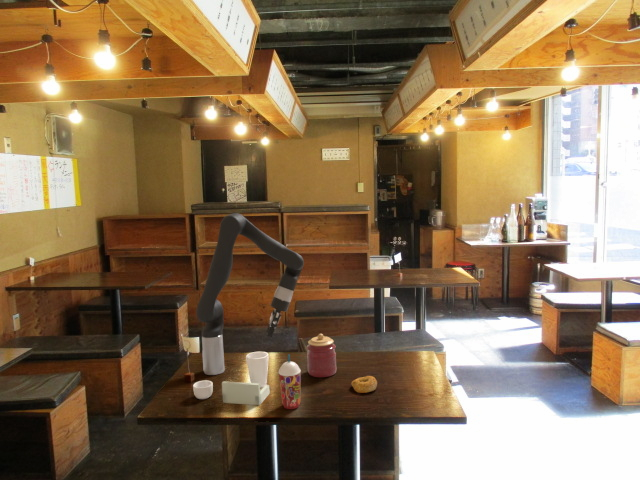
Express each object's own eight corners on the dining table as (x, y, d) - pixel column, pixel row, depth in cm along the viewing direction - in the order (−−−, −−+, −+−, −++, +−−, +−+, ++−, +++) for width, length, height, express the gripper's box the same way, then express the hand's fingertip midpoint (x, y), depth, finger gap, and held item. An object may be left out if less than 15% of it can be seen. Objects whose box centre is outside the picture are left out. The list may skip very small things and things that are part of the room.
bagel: (361, 381, 205) (361, 370, 204) (382, 388, 197) (382, 377, 197) (345, 389, 198) (345, 378, 198) (366, 396, 190) (366, 385, 190)
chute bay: (234, 391, 200) (233, 372, 200) (269, 393, 197) (268, 374, 196) (223, 402, 190) (221, 382, 189) (259, 405, 186) (258, 385, 185)
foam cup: (273, 382, 209) (272, 352, 207) (264, 390, 200) (262, 359, 199) (253, 380, 212) (252, 350, 210) (243, 388, 203) (241, 358, 202)
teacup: (212, 400, 193) (211, 387, 192) (192, 401, 192) (191, 388, 191) (215, 390, 203) (214, 377, 202) (196, 391, 202) (195, 379, 201)
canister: (337, 377, 210) (335, 337, 209) (307, 378, 211) (305, 338, 209) (336, 366, 223) (334, 329, 222) (308, 367, 224) (306, 330, 222)
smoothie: (299, 411, 179) (296, 358, 177) (277, 410, 181) (274, 358, 179) (304, 401, 187) (302, 351, 185) (283, 400, 189) (281, 350, 187)
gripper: (273, 294, 214) (260, 329, 212) (274, 296, 200) (260, 334, 198) (289, 300, 215) (276, 335, 213) (291, 302, 201) (278, 340, 199)
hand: (268, 334), depth 206 cm, fingers open, 8 cm apart
